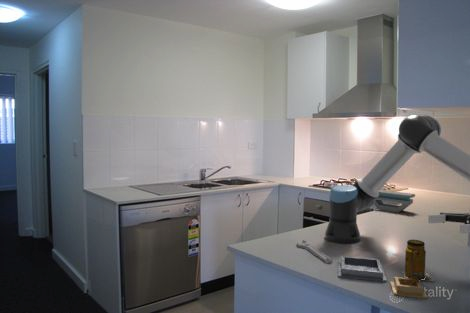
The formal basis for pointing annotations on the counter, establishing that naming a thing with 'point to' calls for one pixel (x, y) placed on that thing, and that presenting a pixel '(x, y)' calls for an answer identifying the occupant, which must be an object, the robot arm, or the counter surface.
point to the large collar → (361, 269)
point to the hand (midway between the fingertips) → (444, 224)
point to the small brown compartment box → (408, 287)
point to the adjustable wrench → (314, 250)
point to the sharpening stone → (393, 200)
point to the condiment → (416, 261)
